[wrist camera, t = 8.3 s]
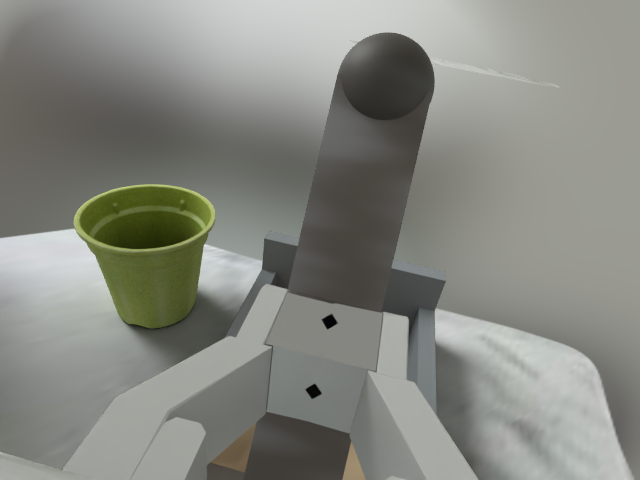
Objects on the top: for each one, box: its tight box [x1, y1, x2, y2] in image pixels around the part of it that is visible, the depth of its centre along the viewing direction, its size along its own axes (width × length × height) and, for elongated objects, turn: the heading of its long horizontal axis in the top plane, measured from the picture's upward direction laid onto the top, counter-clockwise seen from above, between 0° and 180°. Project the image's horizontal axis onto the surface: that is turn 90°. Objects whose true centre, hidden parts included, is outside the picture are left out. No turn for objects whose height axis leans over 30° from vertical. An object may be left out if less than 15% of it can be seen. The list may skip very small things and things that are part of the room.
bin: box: [224, 231, 446, 416], centre depth 30 cm, size 14×14×7 cm
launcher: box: [207, 33, 434, 480], centre depth 20 cm, size 9×14×17 cm
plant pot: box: [74, 185, 216, 328], centre depth 33 cm, size 9×9×9 cm
